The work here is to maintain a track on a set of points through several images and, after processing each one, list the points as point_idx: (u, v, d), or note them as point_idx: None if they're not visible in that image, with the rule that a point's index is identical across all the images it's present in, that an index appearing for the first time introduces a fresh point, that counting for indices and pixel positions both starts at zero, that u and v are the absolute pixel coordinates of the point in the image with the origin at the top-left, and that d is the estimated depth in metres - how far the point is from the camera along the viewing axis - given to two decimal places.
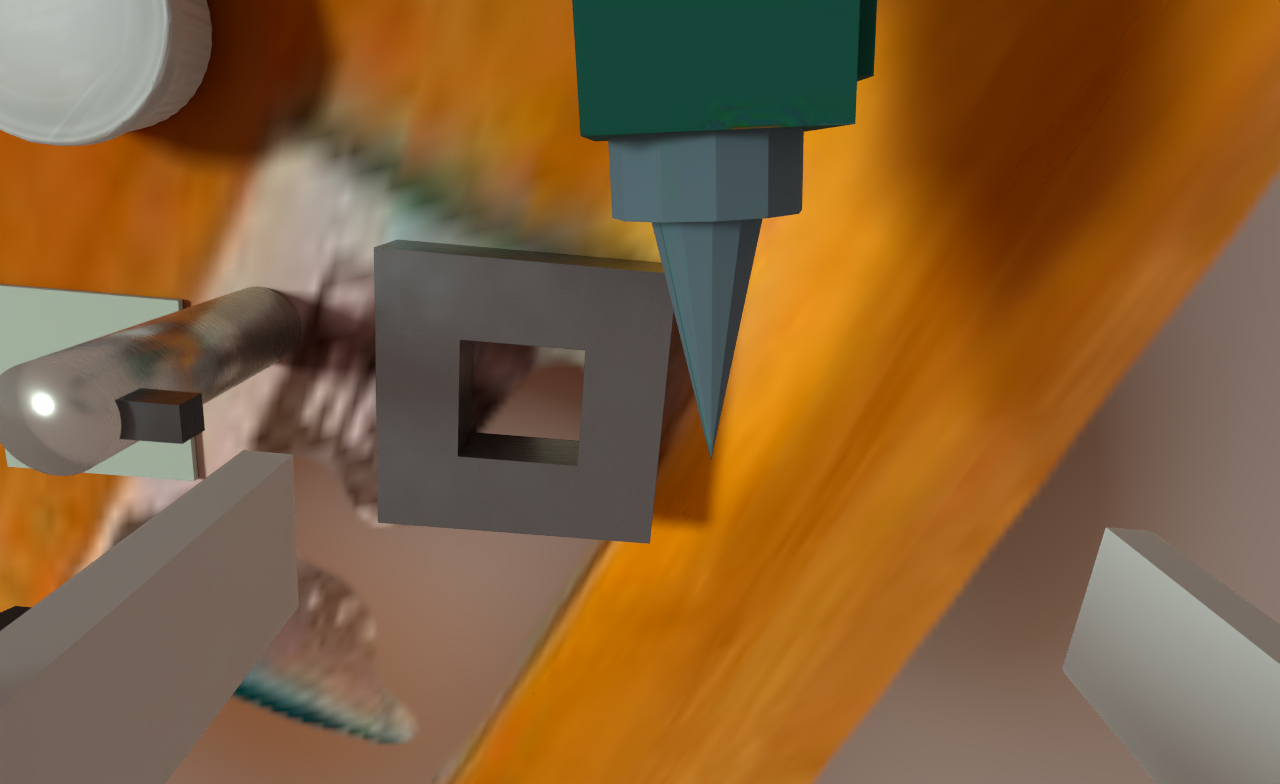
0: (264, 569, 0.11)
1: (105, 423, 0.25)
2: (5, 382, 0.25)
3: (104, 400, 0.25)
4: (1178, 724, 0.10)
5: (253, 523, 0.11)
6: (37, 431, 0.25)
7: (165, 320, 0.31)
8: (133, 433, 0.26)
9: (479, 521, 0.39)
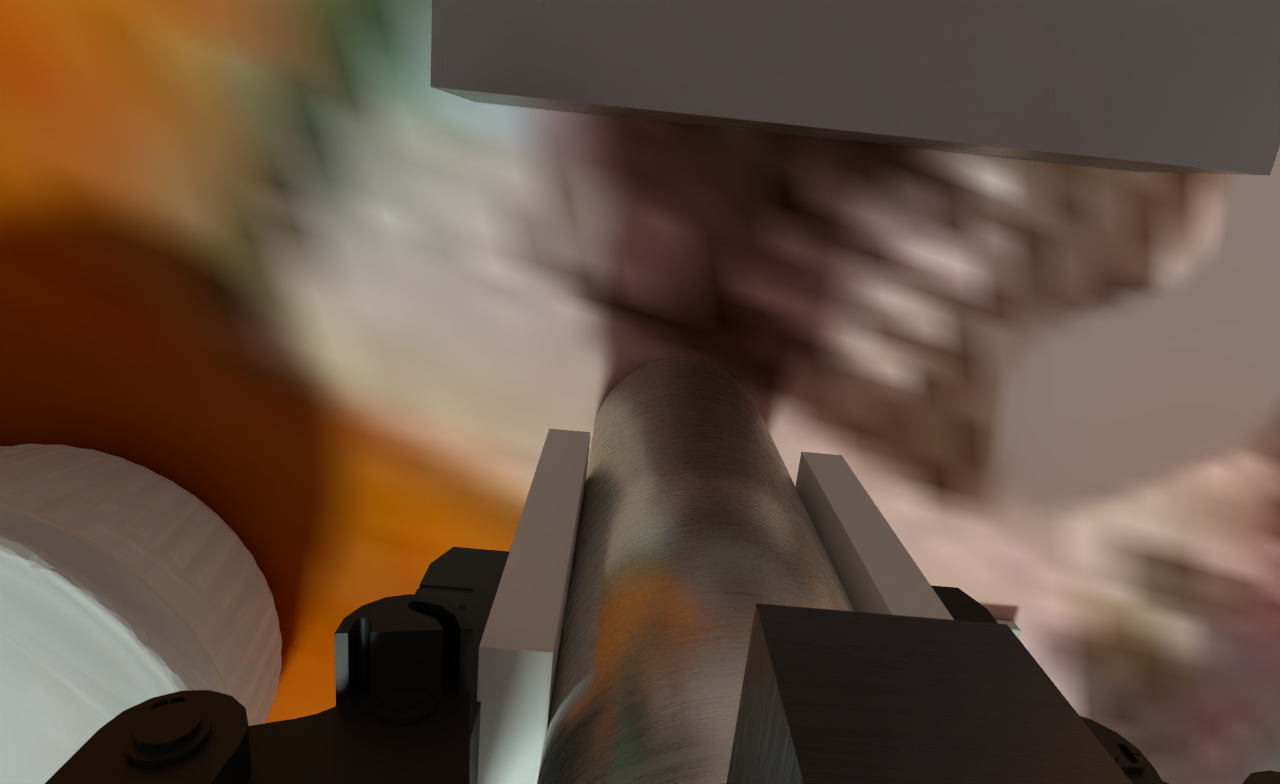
0: None
1: None
2: None
3: None
4: None
5: (583, 487, 0.13)
6: None
7: None
8: None
9: None
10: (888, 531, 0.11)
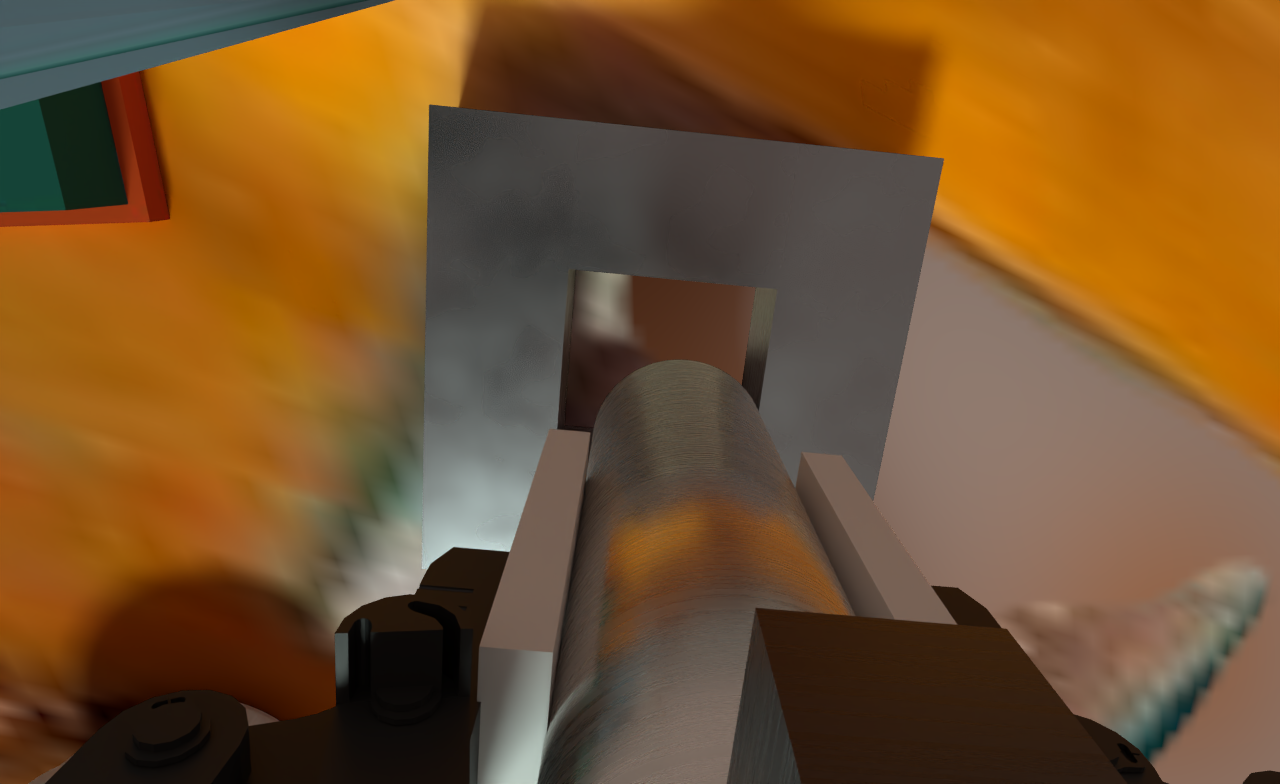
0: None
1: None
2: None
3: None
4: None
5: (583, 487, 0.13)
6: None
7: None
8: None
9: (866, 455, 0.23)
10: (888, 531, 0.11)
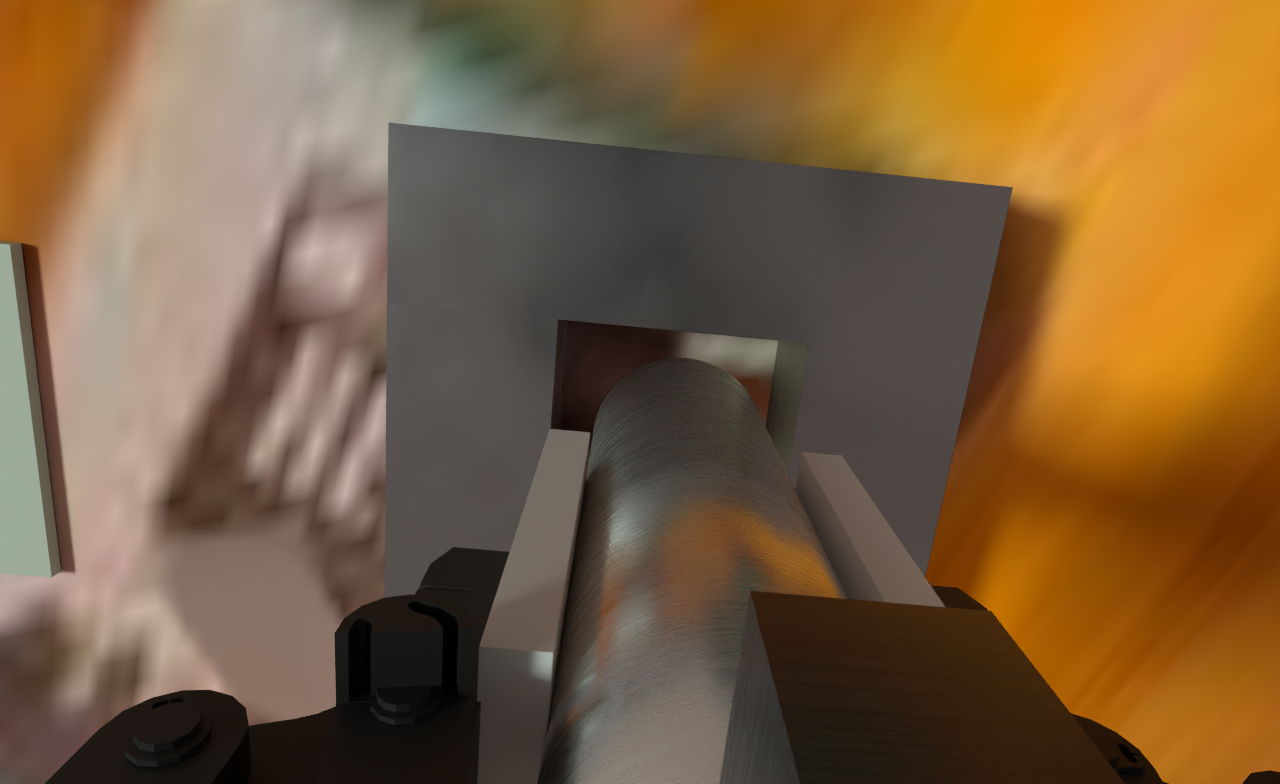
0: None
1: None
2: None
3: None
4: None
5: (583, 487, 0.13)
6: None
7: None
8: None
9: None
10: (888, 531, 0.11)
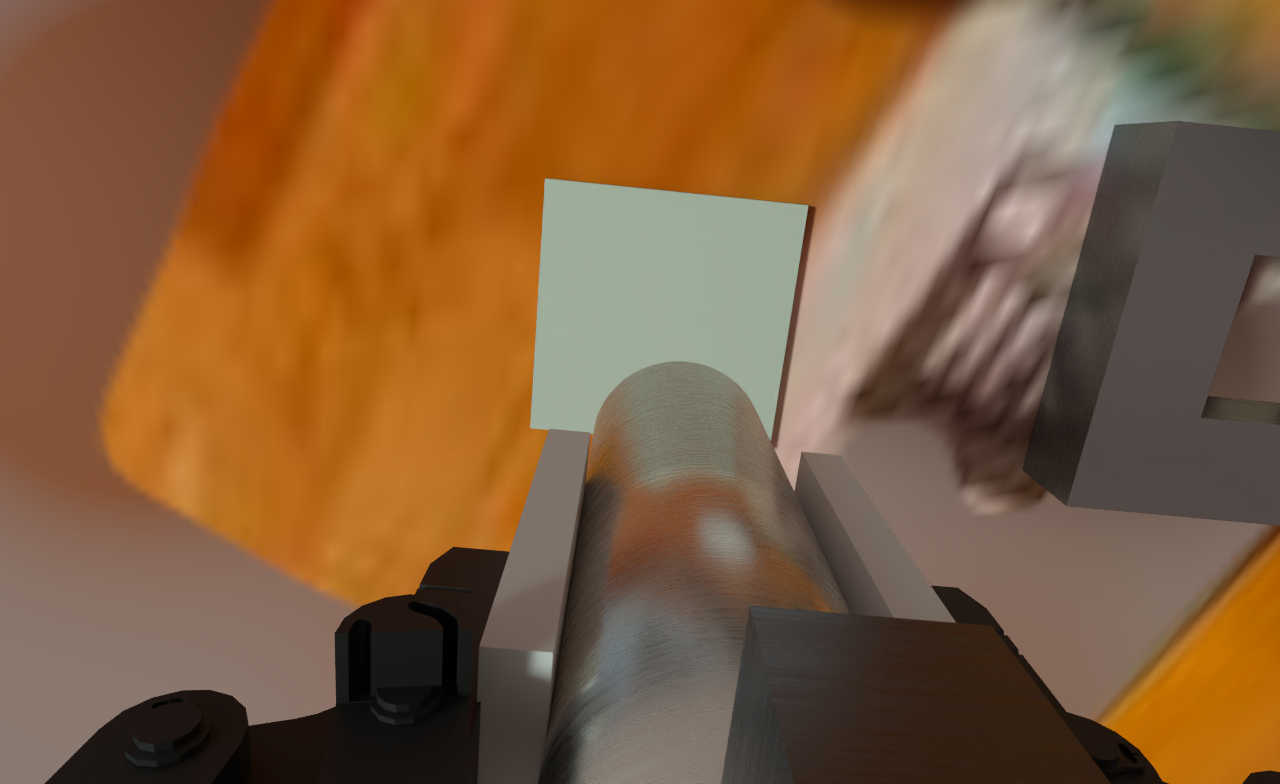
0: None
1: None
2: None
3: None
4: None
5: (583, 487, 0.13)
6: None
7: None
8: None
9: (1201, 506, 0.29)
10: (888, 531, 0.11)
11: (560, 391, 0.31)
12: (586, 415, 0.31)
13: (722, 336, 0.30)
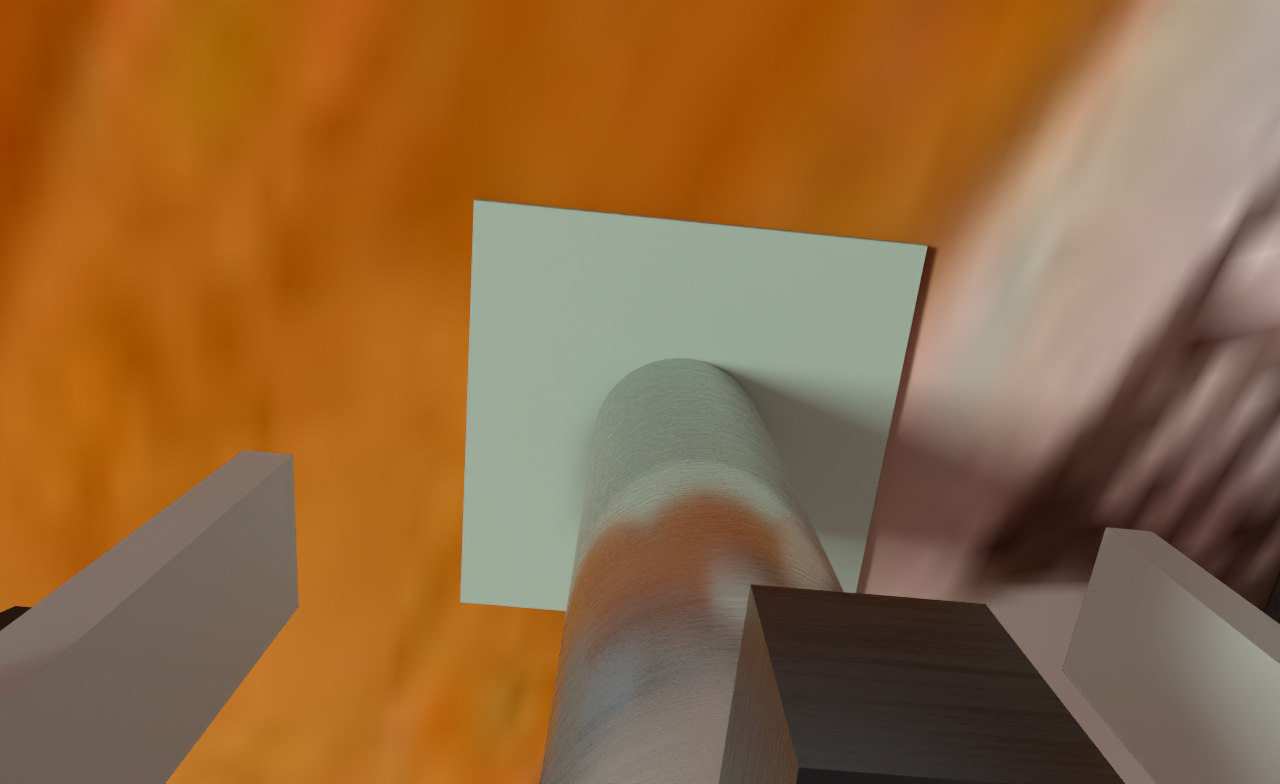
0: (264, 569, 0.11)
1: None
2: None
3: None
4: (1178, 724, 0.10)
5: (254, 524, 0.11)
6: None
7: (561, 642, 0.10)
8: None
9: None
10: None
11: (508, 546, 0.19)
12: (551, 583, 0.19)
13: None
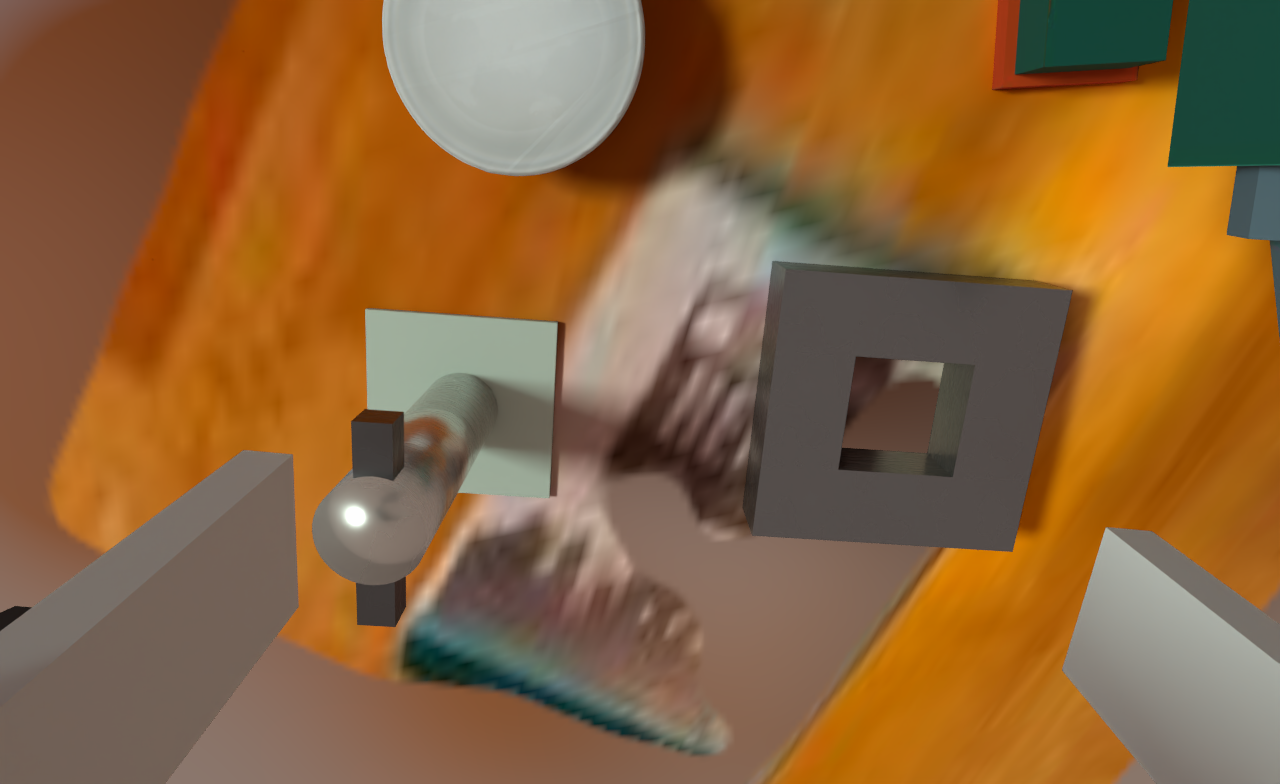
0: (264, 569, 0.11)
1: (367, 486, 0.26)
2: (336, 564, 0.27)
3: (346, 484, 0.27)
4: (1178, 723, 0.10)
5: (253, 523, 0.11)
6: (382, 547, 0.27)
7: None
8: (385, 467, 0.27)
9: (850, 532, 0.40)
10: None
11: None
12: None
13: (505, 416, 0.41)
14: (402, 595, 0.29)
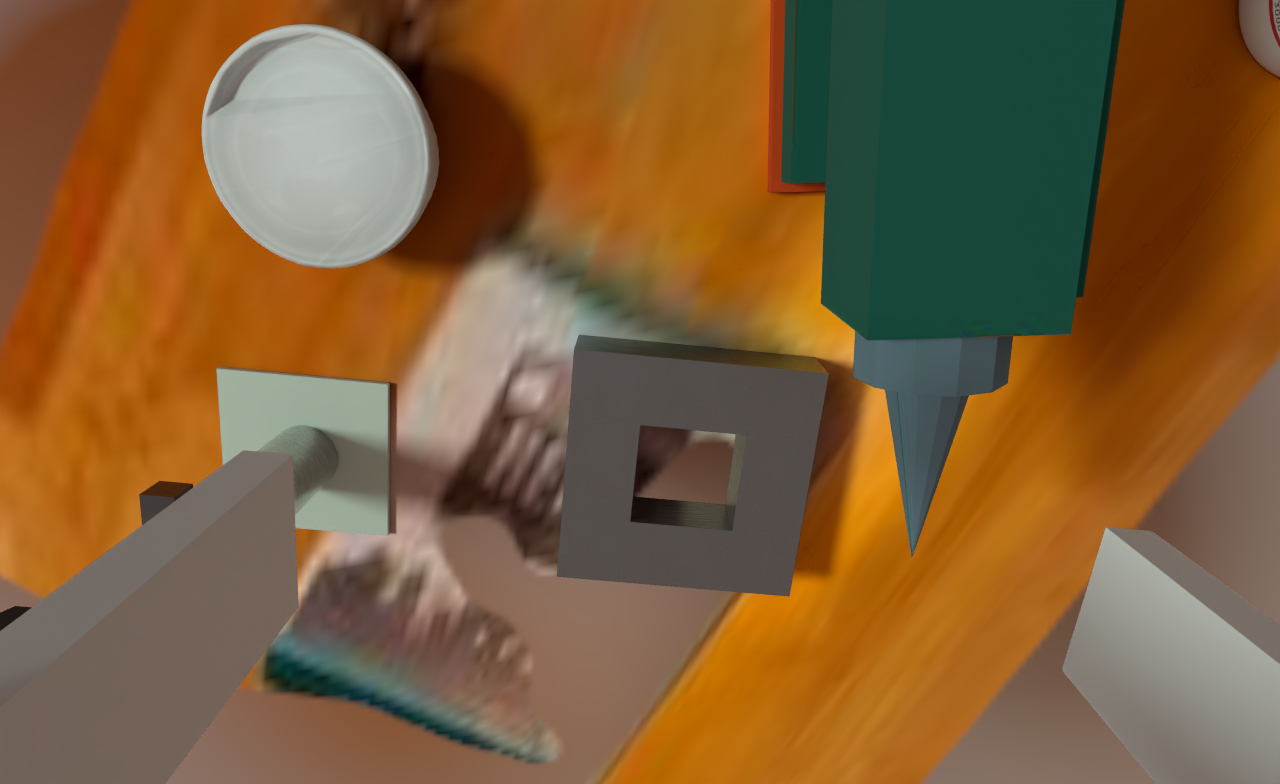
0: (264, 569, 0.11)
1: None
2: None
3: None
4: (1178, 724, 0.10)
5: (253, 523, 0.11)
6: None
7: None
8: None
9: (644, 576, 0.45)
10: None
11: None
12: None
13: (344, 464, 0.47)
14: None
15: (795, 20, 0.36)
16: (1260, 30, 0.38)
